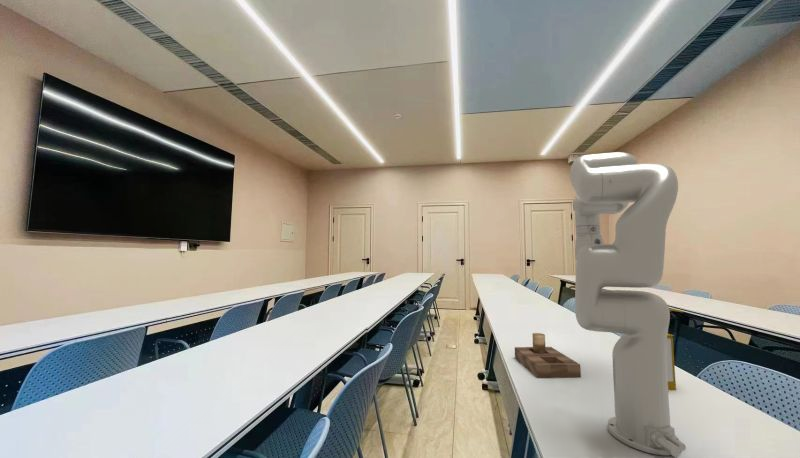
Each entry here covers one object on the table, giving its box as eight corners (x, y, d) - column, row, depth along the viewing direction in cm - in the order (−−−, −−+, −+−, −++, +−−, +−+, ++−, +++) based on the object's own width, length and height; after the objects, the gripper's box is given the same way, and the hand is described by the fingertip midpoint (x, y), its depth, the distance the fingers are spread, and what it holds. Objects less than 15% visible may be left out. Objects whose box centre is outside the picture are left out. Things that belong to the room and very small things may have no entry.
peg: (548, 364, 108) (547, 336, 109) (536, 364, 108) (535, 336, 109) (542, 360, 113) (541, 332, 113) (531, 360, 113) (530, 332, 113)
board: (580, 377, 98) (580, 364, 98) (537, 378, 97) (537, 365, 97) (551, 357, 116) (550, 346, 116) (514, 358, 115) (514, 347, 115)
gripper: (613, 229, 101) (616, 285, 100) (584, 232, 116) (586, 281, 114) (591, 230, 101) (593, 286, 99) (565, 232, 115) (567, 281, 114)
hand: (590, 283), depth 107 cm, fingers closed
